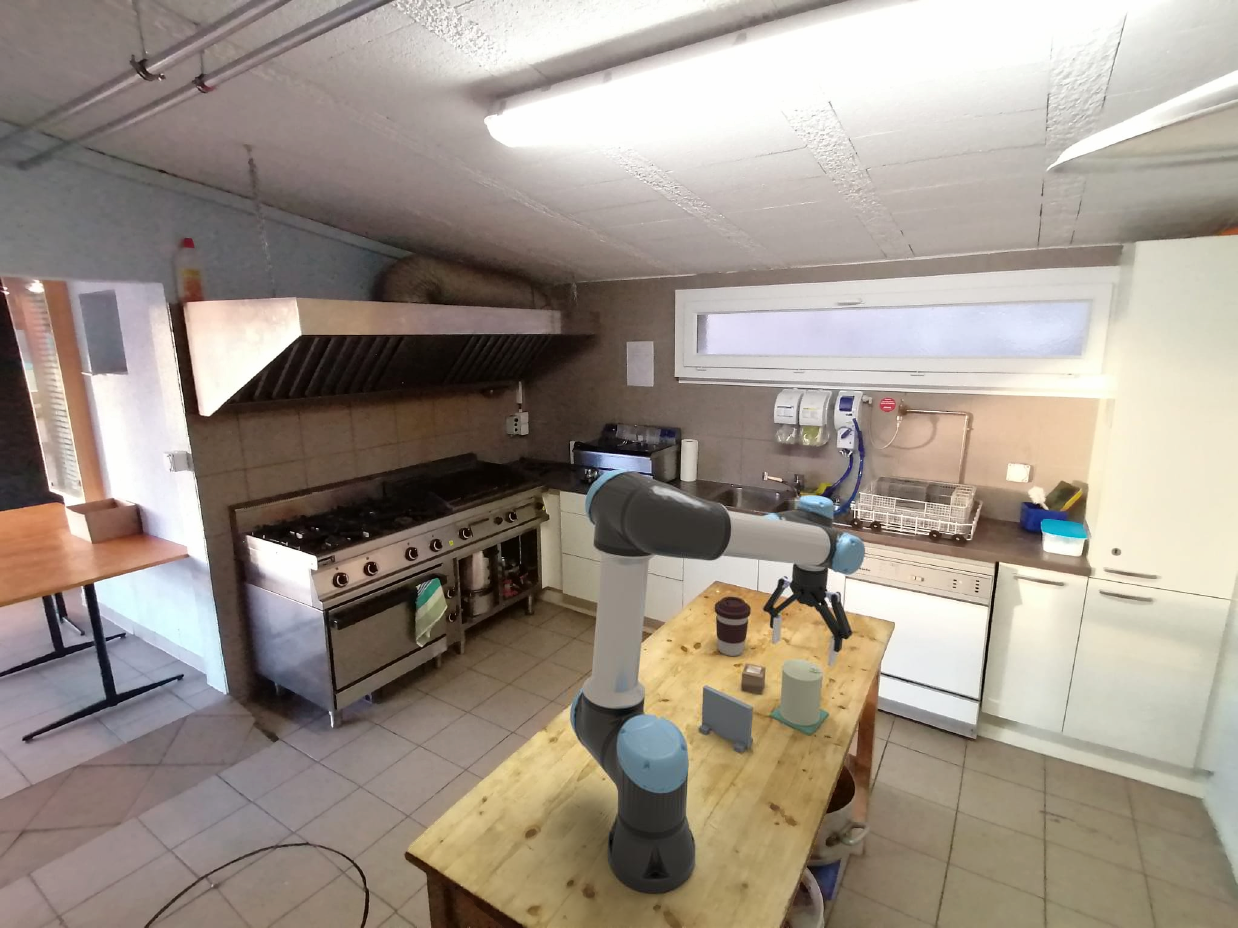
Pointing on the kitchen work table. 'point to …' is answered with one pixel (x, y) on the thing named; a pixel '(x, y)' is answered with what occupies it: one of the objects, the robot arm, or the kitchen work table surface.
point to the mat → (804, 729)
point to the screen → (727, 718)
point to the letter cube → (753, 678)
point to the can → (801, 692)
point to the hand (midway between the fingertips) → (803, 652)
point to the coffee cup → (731, 625)
